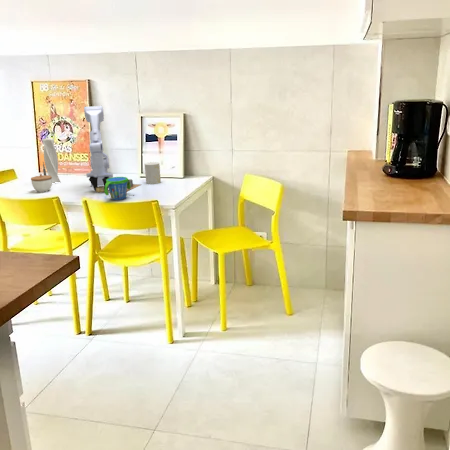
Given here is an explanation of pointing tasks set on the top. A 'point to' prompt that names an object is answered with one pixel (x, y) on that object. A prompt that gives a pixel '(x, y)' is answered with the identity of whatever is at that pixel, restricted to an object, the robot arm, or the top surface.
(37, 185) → the lidded jar
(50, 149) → the skyscraper
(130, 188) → the gear board
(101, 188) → the brass gear
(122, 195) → the snack cup
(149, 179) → the cup
